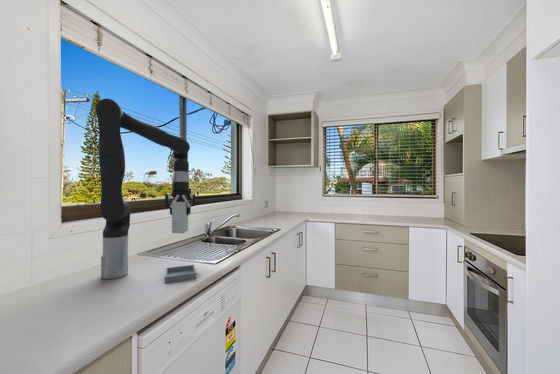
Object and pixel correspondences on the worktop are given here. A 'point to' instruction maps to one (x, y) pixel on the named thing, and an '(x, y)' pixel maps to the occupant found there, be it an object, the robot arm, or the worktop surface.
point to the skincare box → (179, 217)
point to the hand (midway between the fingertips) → (180, 215)
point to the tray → (180, 273)
